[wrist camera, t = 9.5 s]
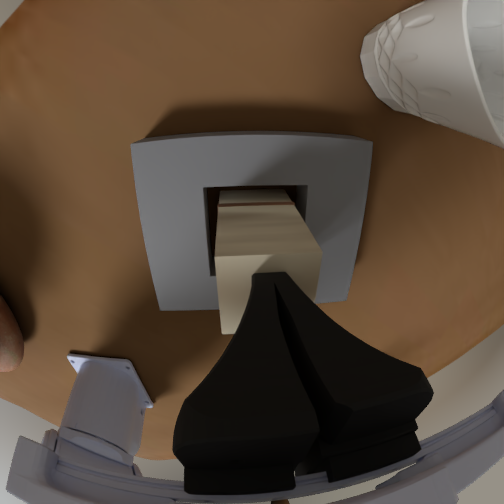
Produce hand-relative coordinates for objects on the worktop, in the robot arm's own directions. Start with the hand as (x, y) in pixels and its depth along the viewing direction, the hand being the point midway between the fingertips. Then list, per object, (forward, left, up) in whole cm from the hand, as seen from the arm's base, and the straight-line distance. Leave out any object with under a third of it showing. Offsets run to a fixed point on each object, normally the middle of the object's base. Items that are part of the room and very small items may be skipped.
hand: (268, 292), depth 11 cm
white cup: (+11, -10, -8) cm, 17 cm away
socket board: (0, 0, -8) cm, 8 cm away
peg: (0, 0, -8) cm, 8 cm away
